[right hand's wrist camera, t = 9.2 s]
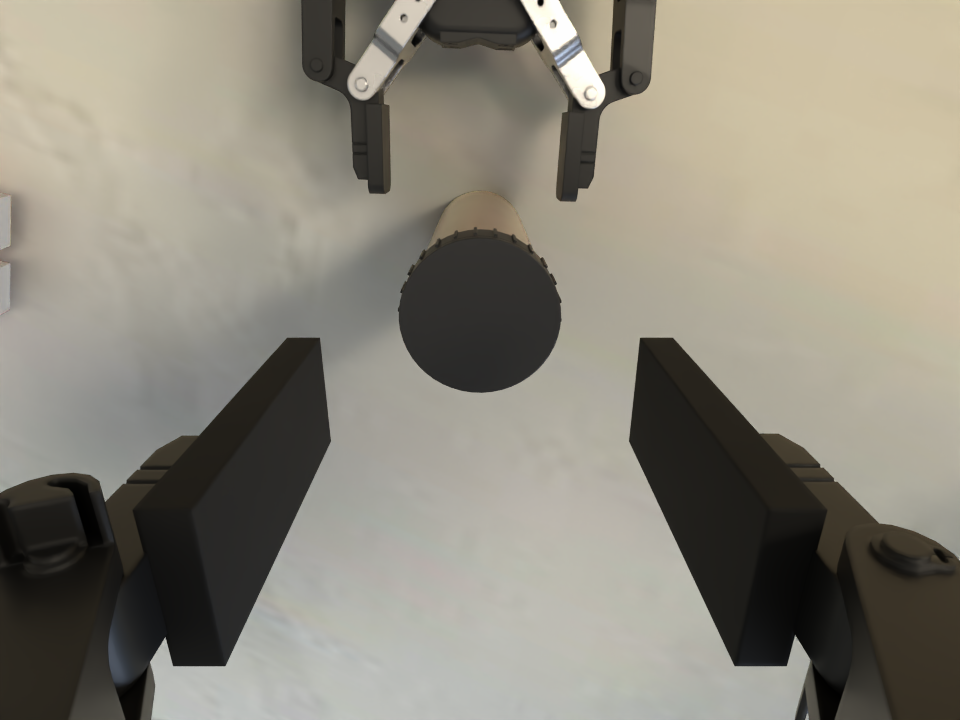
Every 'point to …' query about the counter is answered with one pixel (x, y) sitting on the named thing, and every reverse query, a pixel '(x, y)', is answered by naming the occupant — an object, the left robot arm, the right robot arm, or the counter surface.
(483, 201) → the jar
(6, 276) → the toy
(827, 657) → the right robot arm
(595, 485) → the counter surface
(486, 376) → the lid
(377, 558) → the counter surface
